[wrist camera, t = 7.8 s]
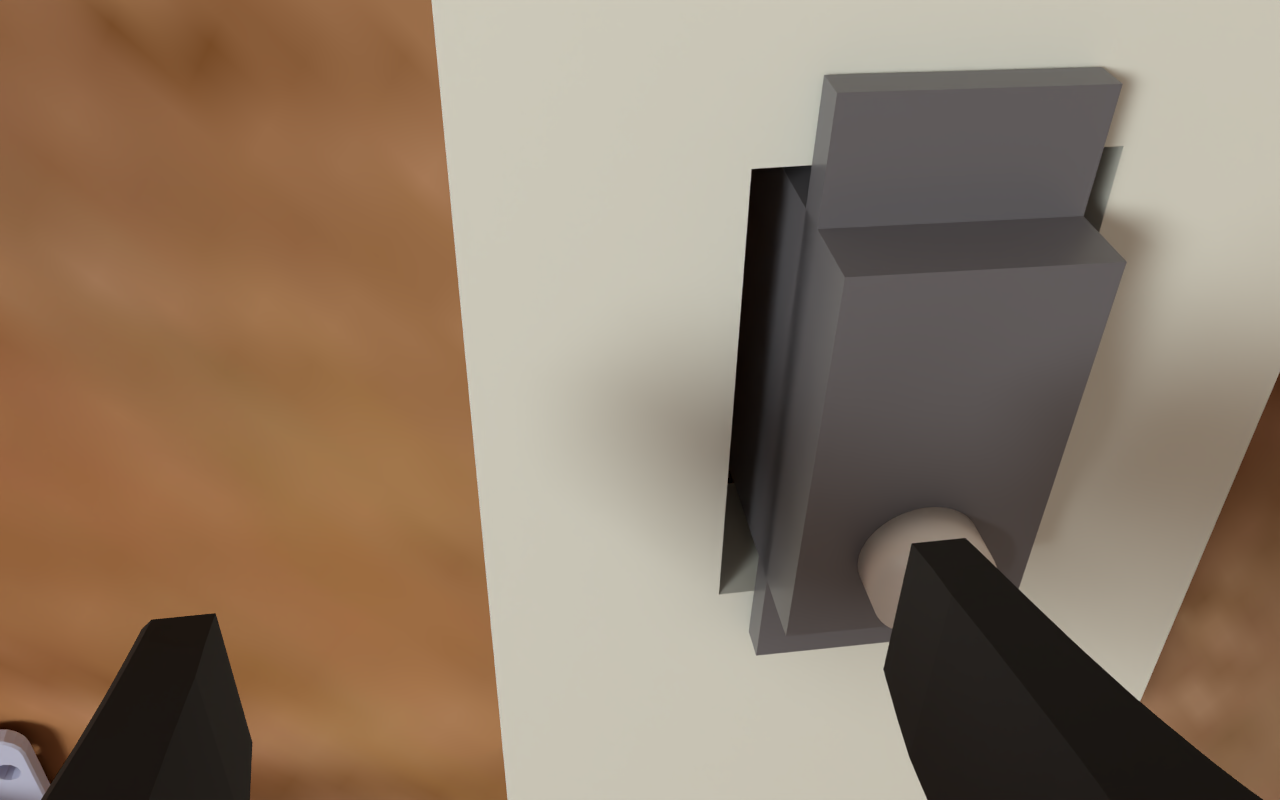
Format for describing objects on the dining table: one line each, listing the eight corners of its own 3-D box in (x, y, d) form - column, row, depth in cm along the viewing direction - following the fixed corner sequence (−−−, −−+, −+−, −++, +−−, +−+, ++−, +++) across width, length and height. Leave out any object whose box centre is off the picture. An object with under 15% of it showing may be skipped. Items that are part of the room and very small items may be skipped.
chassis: (1052, 676, 30) (1108, 776, 28) (504, 745, 28) (513, 858, 26) (1349, -180, 18) (1493, -132, 16) (419, -159, 16) (421, -101, 14)
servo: (895, 505, 25) (1003, 724, 21) (714, 520, 25) (784, 749, 20) (1010, -8, 19) (1206, 152, 14) (767, -4, 18) (889, 164, 14)
